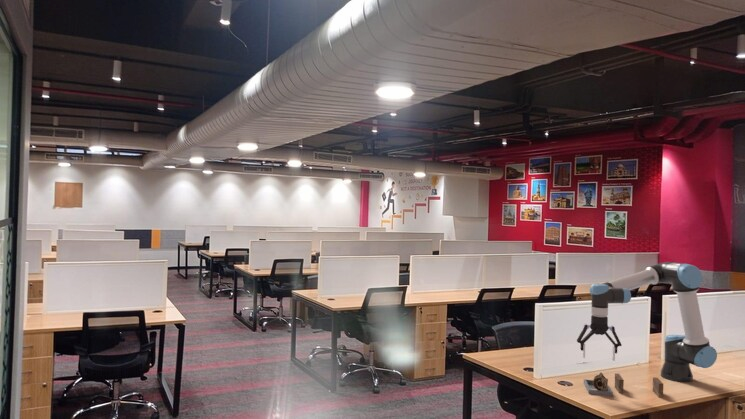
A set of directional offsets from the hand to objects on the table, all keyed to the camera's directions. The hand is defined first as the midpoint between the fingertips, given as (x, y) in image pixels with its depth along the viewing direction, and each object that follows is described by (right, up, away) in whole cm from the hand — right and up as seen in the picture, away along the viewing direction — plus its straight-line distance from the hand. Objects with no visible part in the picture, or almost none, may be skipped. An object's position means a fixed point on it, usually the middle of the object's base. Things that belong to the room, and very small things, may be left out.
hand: (598, 358), depth 254 cm
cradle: (+19, -16, -2) cm, 25 cm away
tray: (-1, -16, 0) cm, 16 cm away
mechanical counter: (-1, -15, 0) cm, 15 cm away
